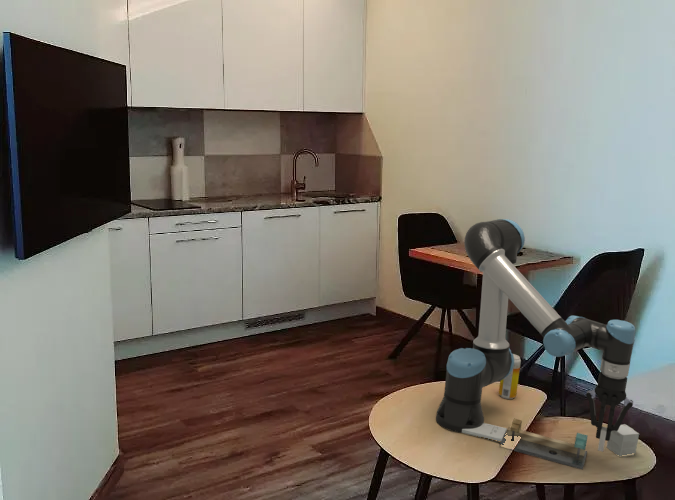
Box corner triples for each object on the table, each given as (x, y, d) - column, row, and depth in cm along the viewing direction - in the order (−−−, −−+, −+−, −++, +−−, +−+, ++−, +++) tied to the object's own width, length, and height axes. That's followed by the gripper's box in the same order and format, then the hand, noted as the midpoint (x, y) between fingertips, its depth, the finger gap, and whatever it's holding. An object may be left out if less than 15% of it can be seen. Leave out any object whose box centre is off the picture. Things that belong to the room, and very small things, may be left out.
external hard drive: (467, 423, 222) (506, 432, 217) (461, 433, 214) (501, 443, 210) (468, 418, 221) (507, 427, 216) (461, 428, 214) (502, 438, 209)
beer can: (516, 394, 246) (522, 355, 242) (514, 401, 240) (520, 361, 237) (499, 391, 248) (504, 352, 244) (497, 397, 242) (502, 357, 239)
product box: (605, 447, 212) (609, 425, 210) (621, 445, 214) (625, 423, 212) (619, 457, 206) (623, 435, 205) (635, 455, 208) (639, 433, 207)
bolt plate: (499, 446, 208) (499, 443, 208) (506, 433, 217) (507, 430, 216) (582, 469, 198) (583, 466, 198) (586, 454, 207) (587, 451, 206)
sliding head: (572, 457, 202) (574, 441, 201) (574, 448, 207) (577, 432, 206) (582, 460, 201) (585, 443, 199) (585, 451, 206) (587, 435, 205)
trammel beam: (503, 439, 210) (505, 424, 209) (508, 432, 215) (509, 417, 214) (582, 461, 201) (585, 445, 200) (585, 452, 206) (587, 437, 205)
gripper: (588, 373, 196) (576, 448, 201) (637, 384, 191) (623, 461, 196) (591, 364, 203) (579, 437, 208) (638, 375, 197) (625, 449, 203)
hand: (600, 448), depth 202 cm, fingers closed
